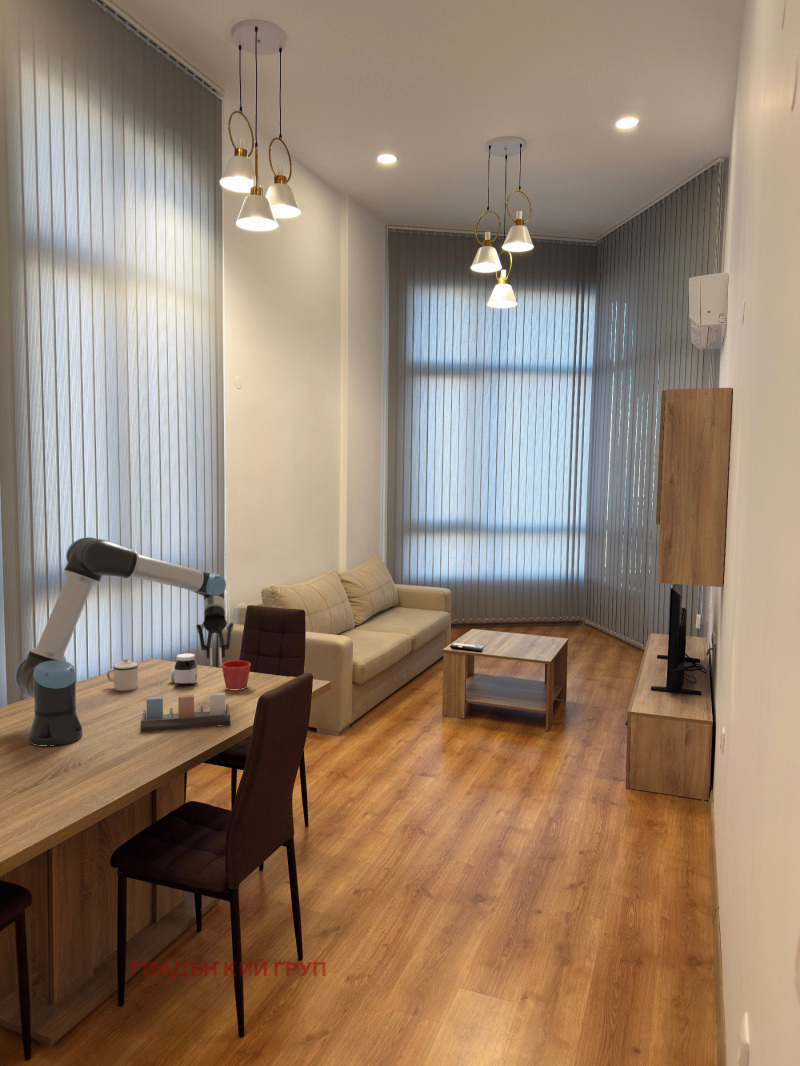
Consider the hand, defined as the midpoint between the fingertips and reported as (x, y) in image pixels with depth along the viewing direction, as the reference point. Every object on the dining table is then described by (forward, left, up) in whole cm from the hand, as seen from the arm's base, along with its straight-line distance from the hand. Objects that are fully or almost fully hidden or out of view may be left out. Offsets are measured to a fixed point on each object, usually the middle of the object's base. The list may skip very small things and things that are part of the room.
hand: (216, 665), depth 264 cm
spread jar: (+8, +38, -16) cm, 42 cm away
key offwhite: (-6, -11, -14) cm, 19 cm away
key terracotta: (-15, -6, -14) cm, 21 cm away
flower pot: (+20, +18, -16) cm, 31 cm away
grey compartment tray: (-15, -6, -16) cm, 23 cm away
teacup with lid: (-12, +48, -16) cm, 52 cm away
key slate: (-24, -1, -14) cm, 27 cm away
